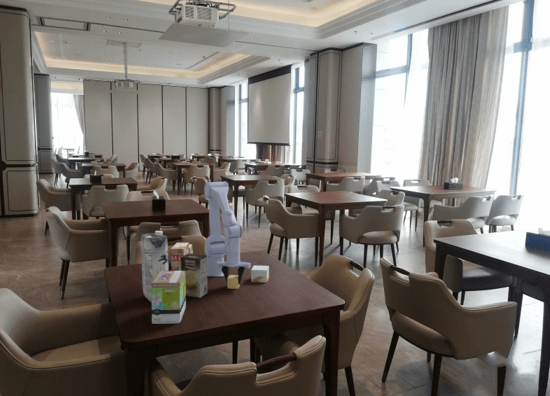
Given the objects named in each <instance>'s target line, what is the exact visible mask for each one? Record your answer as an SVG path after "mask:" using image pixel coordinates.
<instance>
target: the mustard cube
mask: <svg viewBox="0 0 550 396" xmlns="http://www.w3.org/2000/svg"><path fill="white" fill-rule="evenodd" d="M226 285H227V289H237V290H238V289H239V288H240V286H241V284H240V285H239V284H238V274H237V275H236V274H229V277H228V278H227V283H226Z"/></svg>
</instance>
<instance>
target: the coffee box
mask: <svg viewBox="0 0 550 396" xmlns="http://www.w3.org/2000/svg"><path fill="white" fill-rule="evenodd" d="M181 271H185V281H186V297H191V298H192V297H194V298H202V297H203V296H205V295H206V294H208V276H207V255H206V254H205V255H204V254H197V253H193V254H189V253H188V254H186V255H184V256H182V257H181Z"/></svg>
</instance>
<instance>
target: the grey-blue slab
mask: <svg viewBox="0 0 550 396" xmlns="http://www.w3.org/2000/svg"><path fill="white" fill-rule="evenodd" d="M268 273H269V274H270V266H269V265H252V268H251V269H250V274H251V275H250V276H257V277H267V275H268Z"/></svg>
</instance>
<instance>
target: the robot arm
mask: <svg viewBox="0 0 550 396" xmlns="http://www.w3.org/2000/svg"><path fill="white" fill-rule="evenodd" d="M229 188H230V187H229V183H227V181H213V182H211V181H210V182H208V181H206V183H205V184H204V187H203V189H204V199H205V200H206V201H208V202H207V203H208V212H209V213H208V215H209V217H208V218H209V229H210V231H209V232H210V235H209V236H208V237H207V238H206V239H205V241H204V248H203V249H204V254H205V255H206V256H207V277H224V279H225V282H226V284H227V278H228V277H229V275H230V268H237V275H238V284H239V285H240V286H241V283H242V278H243V276H244V275H243V274H244V272H245V270H246V269H250V268H251V262H246V261H241V238H242V236H243V228H242V225H241V224H240V223H239V222H238V221H237V218H236V216H235V212H234V211H233V210H231V208H230V204H229V200H228V199H229V198H228V195H229V190H230V189H229ZM220 210H221V213H220ZM221 221H222V224H223V226H224V230H223V234H224V236H223V235H222V232H221ZM225 256H226V260H225Z"/></svg>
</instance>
